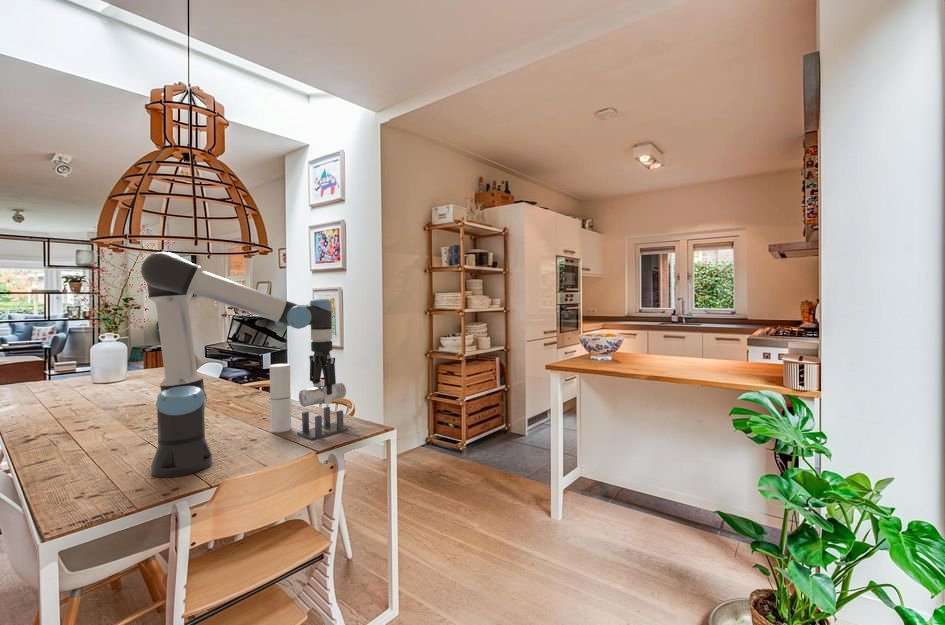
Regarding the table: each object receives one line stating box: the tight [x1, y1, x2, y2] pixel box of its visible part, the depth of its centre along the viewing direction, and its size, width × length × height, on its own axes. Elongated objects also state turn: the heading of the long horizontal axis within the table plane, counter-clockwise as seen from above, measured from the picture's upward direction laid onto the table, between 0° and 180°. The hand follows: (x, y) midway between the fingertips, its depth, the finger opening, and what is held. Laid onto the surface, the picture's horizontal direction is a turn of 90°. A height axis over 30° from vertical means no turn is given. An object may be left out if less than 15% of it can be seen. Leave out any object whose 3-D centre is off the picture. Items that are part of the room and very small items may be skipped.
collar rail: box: [297, 406, 349, 441], centre depth 162 cm, size 15×10×8 cm, turn 141°
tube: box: [298, 382, 347, 408], centre depth 162 cm, size 16×6×6 cm, turn 141°
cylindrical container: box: [269, 363, 292, 433], centre depth 166 cm, size 7×7×25 cm
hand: (322, 401), depth 162 cm, fingers closed on tube, 6 cm apart
